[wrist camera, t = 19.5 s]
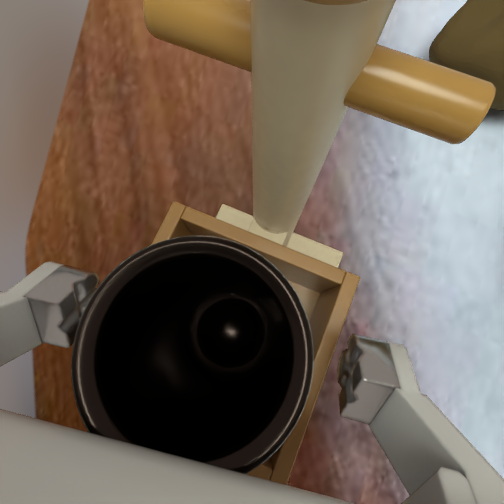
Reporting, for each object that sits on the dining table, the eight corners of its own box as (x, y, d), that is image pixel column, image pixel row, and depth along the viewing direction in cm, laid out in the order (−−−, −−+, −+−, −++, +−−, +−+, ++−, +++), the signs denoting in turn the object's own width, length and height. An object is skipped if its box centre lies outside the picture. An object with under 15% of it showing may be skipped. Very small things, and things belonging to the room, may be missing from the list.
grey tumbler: (177, 368, 15) (32, 462, 5) (197, 279, 16) (107, 215, 6) (267, 387, 15) (294, 521, 5) (283, 295, 16) (331, 256, 6)
